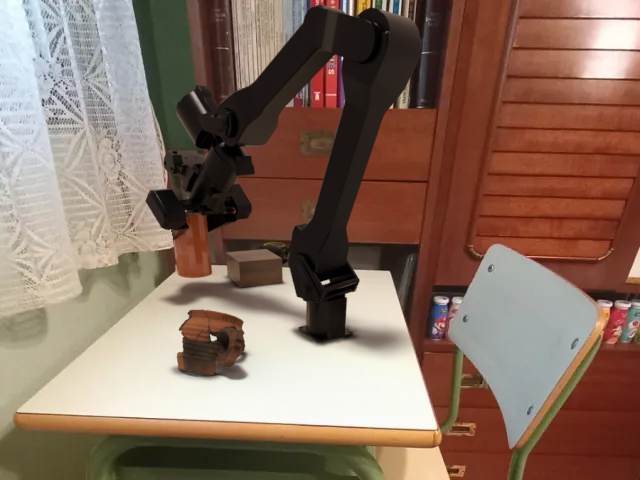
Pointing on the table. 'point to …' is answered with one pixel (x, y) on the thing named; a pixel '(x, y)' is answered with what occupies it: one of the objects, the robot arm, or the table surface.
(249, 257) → the block
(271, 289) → the table surface
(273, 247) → the tape measure
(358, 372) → the table surface
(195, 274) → the tumbler
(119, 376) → the table surface
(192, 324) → the pottery mug
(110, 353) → the table surface
